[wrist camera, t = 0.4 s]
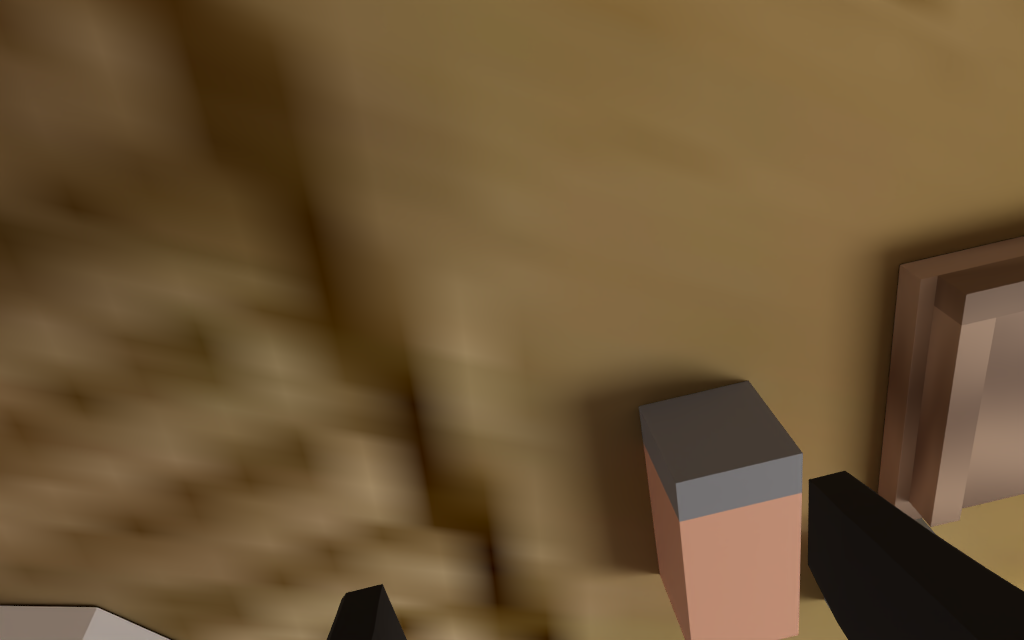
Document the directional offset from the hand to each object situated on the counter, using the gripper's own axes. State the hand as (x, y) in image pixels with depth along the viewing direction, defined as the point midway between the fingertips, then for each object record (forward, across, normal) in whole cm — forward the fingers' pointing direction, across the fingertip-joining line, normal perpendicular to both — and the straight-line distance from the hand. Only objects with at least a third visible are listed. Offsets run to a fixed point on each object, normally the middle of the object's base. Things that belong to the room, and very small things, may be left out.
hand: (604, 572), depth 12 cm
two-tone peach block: (+10, -5, +9) cm, 14 cm away
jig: (+10, -15, +7) cm, 19 cm away
